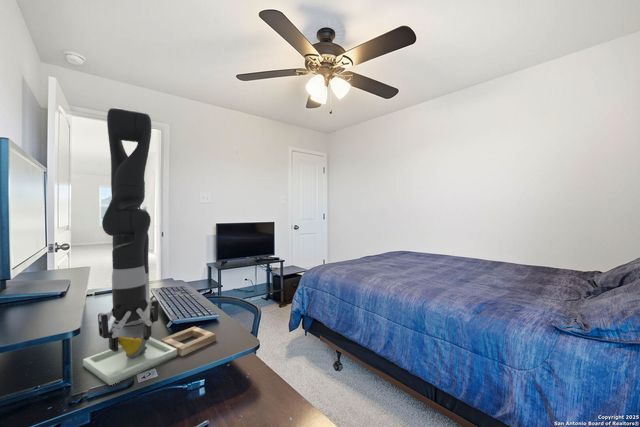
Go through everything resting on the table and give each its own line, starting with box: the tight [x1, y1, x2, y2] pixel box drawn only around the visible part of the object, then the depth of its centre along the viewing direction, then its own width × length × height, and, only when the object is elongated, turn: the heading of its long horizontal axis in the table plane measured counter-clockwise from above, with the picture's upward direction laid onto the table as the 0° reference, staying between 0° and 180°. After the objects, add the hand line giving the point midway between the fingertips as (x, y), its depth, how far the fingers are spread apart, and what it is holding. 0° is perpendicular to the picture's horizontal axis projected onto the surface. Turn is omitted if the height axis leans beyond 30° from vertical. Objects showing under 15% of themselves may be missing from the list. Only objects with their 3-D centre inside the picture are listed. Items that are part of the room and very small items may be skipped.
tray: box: [82, 337, 178, 386], centre depth 77 cm, size 16×16×2 cm
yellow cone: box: [117, 336, 148, 359], centre depth 77 cm, size 5×5×10 cm
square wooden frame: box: [159, 326, 217, 357], centre depth 87 cm, size 11×11×2 cm
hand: (131, 344), depth 77 cm, fingers closed on yellow cone, 7 cm apart
